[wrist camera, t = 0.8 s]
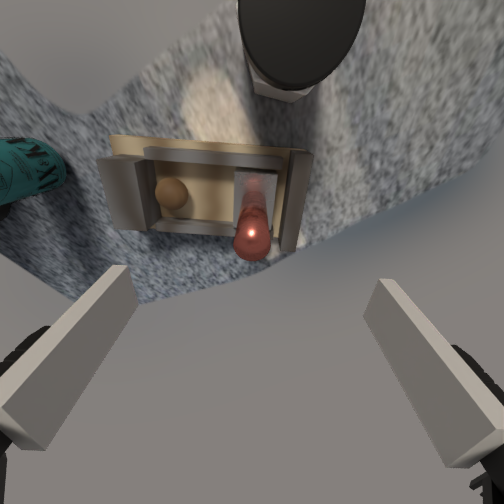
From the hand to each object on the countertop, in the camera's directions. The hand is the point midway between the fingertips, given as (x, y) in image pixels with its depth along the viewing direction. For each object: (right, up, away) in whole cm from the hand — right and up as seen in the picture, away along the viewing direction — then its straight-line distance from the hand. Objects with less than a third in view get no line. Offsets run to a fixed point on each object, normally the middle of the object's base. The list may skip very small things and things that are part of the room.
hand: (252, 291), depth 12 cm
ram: (0, +10, +18) cm, 20 cm away
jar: (+3, +24, +12) cm, 27 cm away
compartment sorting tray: (-6, +11, +20) cm, 23 cm away
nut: (-10, +11, +18) cm, 23 cm away
